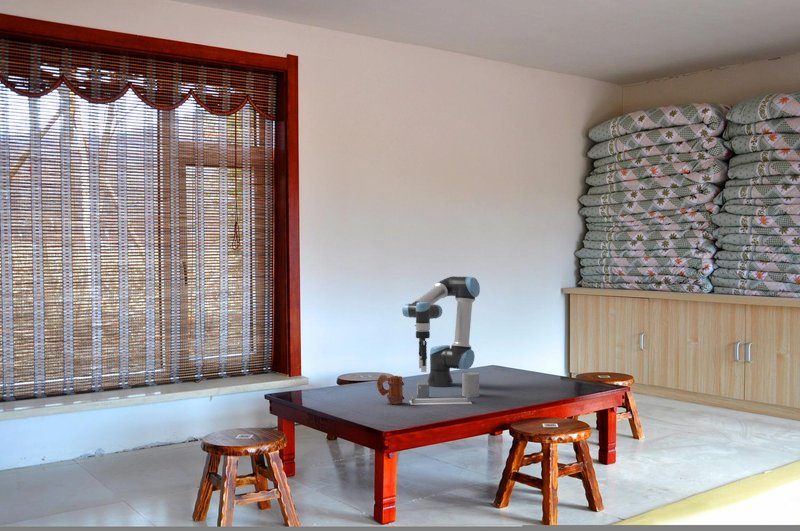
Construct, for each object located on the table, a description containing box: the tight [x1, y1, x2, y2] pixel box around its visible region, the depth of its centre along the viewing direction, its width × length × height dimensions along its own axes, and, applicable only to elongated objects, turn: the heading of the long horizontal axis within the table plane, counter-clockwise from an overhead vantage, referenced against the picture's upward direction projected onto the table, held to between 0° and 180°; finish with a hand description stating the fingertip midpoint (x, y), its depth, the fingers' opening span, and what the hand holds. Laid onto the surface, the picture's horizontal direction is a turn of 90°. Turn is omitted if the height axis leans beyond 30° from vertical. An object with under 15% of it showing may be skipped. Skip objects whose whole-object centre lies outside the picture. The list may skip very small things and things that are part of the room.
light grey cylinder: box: [461, 371, 480, 398], centre depth 426 cm, size 10×10×12 cm
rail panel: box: [408, 396, 473, 406], centre depth 406 cm, size 9×32×3 cm, turn 94°
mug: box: [376, 374, 405, 405], centre depth 405 cm, size 15×8×15 cm, turn 73°
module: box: [416, 381, 430, 399], centre depth 418 cm, size 7×6×8 cm
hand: (422, 370), depth 418 cm, fingers open, 13 cm apart
